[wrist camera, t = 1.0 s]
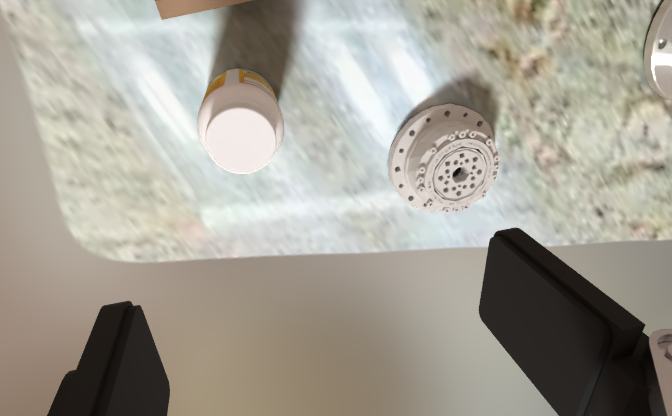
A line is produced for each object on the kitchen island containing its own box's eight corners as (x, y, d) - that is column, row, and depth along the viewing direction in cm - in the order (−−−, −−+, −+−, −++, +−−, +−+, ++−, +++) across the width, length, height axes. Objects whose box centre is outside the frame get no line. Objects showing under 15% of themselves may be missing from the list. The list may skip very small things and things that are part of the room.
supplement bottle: (215, 142, 32) (205, 193, 23) (196, 72, 29) (178, 102, 21) (281, 131, 33) (295, 177, 24) (269, 62, 30) (280, 87, 22)
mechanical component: (493, 96, 35) (385, 110, 34) (523, 107, 32) (404, 124, 30) (481, 195, 40) (387, 212, 39) (507, 216, 36) (403, 235, 35)
